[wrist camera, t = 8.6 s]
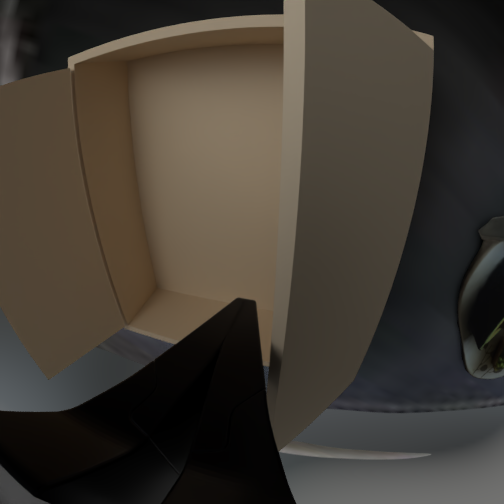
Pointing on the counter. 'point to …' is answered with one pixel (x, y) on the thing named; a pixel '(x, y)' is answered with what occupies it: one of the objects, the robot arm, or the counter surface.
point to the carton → (185, 168)
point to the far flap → (49, 228)
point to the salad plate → (484, 306)
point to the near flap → (341, 194)
